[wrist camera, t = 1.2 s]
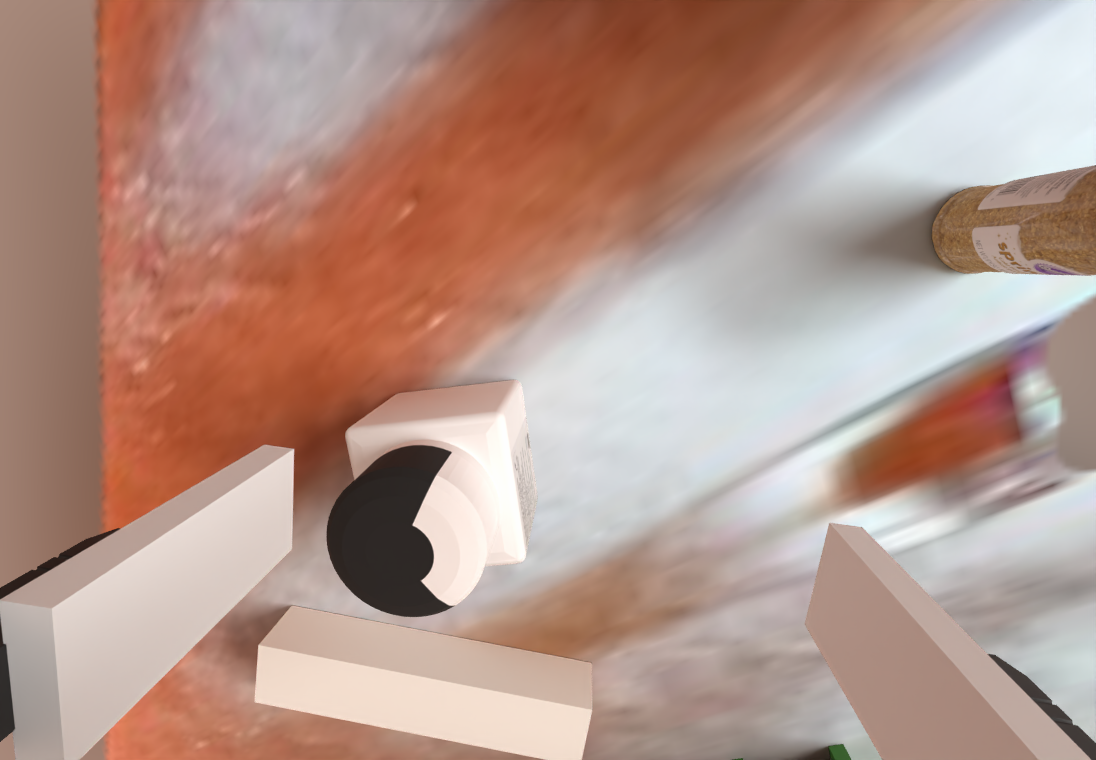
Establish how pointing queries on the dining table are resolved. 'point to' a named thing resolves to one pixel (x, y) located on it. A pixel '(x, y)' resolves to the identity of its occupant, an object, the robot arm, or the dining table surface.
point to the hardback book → (834, 753)
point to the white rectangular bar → (426, 684)
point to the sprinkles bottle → (1022, 226)
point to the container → (434, 496)
